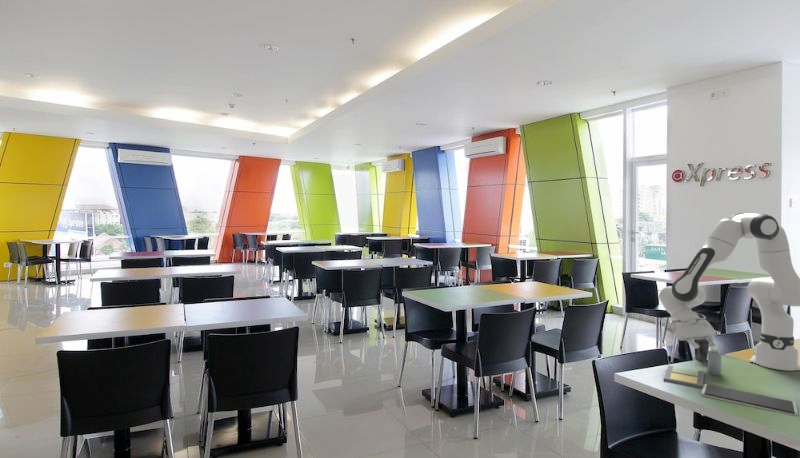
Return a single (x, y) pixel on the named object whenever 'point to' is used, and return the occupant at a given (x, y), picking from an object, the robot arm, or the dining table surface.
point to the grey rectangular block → (714, 362)
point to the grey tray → (750, 399)
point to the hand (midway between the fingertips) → (705, 347)
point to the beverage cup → (702, 349)
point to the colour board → (684, 376)
